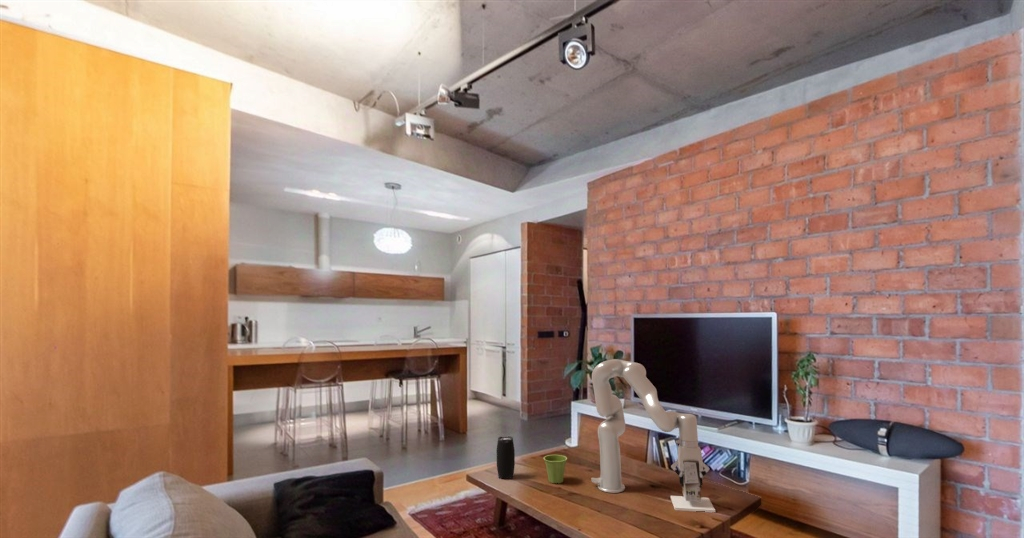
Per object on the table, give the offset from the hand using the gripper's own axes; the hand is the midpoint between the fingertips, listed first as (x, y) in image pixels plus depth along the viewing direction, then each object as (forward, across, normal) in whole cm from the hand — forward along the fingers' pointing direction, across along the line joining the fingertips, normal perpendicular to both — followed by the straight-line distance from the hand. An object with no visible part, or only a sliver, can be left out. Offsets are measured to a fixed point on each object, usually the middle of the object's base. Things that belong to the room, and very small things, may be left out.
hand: (691, 485), depth 197 cm
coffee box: (+5, 0, 0) cm, 5 cm away
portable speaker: (+8, -87, +21) cm, 90 cm away
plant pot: (+8, -61, +19) cm, 64 cm away
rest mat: (+8, 0, 0) cm, 8 cm away
